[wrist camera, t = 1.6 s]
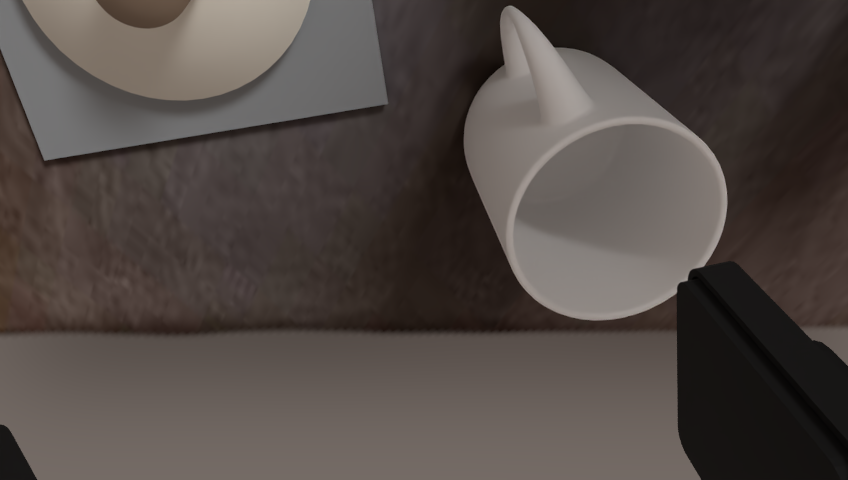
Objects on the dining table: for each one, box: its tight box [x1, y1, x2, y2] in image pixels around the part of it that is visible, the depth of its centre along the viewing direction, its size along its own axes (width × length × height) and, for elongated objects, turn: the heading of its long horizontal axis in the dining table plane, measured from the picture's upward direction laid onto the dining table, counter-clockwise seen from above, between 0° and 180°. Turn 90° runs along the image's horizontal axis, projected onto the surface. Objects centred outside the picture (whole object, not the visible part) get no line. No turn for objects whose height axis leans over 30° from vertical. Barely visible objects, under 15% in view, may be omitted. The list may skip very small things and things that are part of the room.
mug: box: [464, 6, 727, 320], centre depth 33 cm, size 9×12×11 cm
